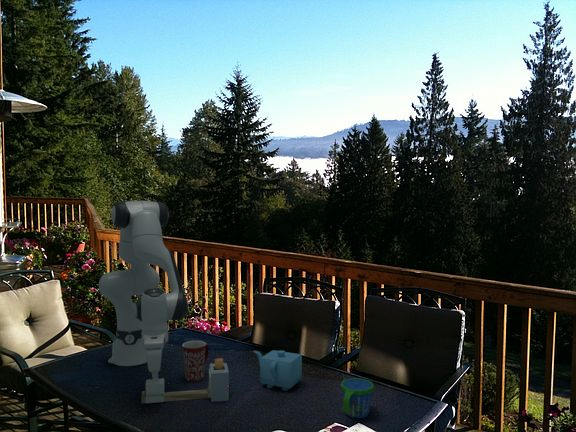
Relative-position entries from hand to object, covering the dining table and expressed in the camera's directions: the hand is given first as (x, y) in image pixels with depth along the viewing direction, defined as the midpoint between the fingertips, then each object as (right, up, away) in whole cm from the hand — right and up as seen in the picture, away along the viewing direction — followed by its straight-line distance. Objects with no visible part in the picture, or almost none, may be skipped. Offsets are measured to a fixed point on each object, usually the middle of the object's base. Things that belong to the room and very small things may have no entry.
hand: (156, 376), depth 182 cm
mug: (+10, -8, +23) cm, 27 cm away
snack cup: (+68, -10, -10) cm, 69 cm away
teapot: (+40, -8, +16) cm, 44 cm away
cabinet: (+21, -8, +5) cm, 23 cm away
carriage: (0, -9, +1) cm, 9 cm away
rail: (+6, -9, +2) cm, 11 cm away
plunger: (+21, 0, +5) cm, 22 cm away
